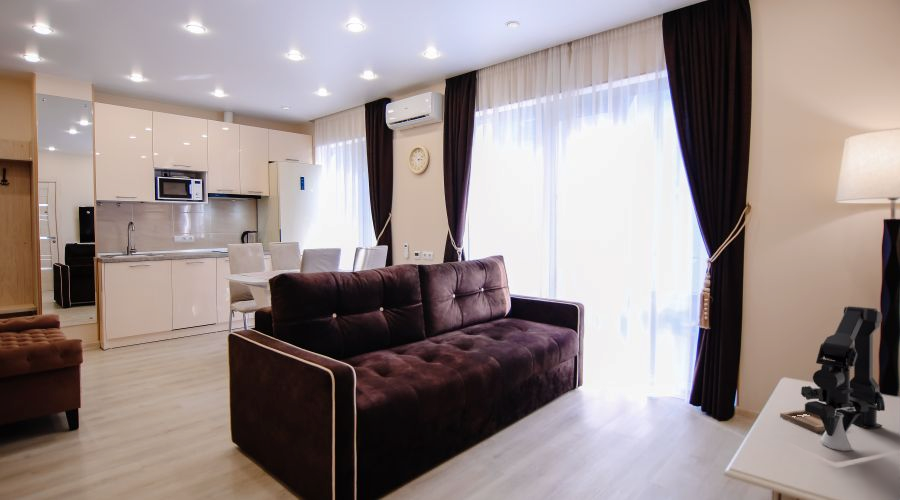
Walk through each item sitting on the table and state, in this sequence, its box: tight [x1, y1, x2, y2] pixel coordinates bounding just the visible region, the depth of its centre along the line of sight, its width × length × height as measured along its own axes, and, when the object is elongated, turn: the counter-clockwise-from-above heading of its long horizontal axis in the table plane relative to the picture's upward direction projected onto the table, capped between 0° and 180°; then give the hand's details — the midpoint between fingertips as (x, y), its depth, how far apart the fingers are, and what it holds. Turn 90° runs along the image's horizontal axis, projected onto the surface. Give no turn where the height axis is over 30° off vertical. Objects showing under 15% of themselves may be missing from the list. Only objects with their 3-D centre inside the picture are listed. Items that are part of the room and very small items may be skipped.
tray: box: [779, 409, 826, 434], centre depth 151 cm, size 12×12×2 cm
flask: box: [819, 412, 853, 452], centre depth 135 cm, size 7×7×10 cm
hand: (836, 434), depth 135 cm, fingers closed on flask, 5 cm apart
